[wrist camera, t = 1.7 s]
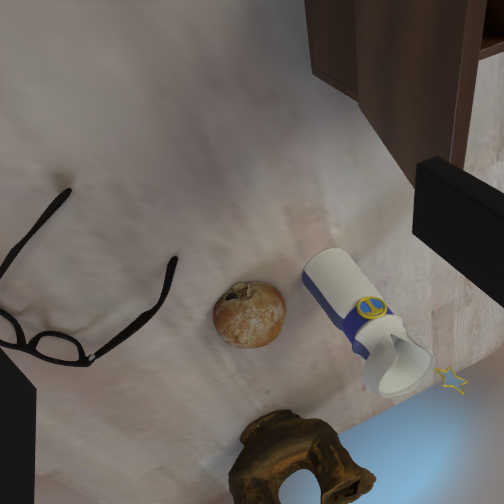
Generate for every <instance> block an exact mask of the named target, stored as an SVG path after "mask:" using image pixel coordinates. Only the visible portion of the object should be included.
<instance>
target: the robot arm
mask: <svg viewBox="0 0 504 504" xmlns="http://www.w3.org/2000/svg"><path fill="white" fill-rule="evenodd" d="M412 234H414V235H415V236H416V237H417V238H419V239H420V240H421V241H422V242H423V243H425V244H426V245H427V246H428V247H430V248H431V249H432V250H433V251H434V252H436V253H437V254H438V255H439V256H441V257H442V258H443V259H444V260H445V261H447V262H448V263H449V264H450V265H452V266H453V267H454V268H455V269H456V270H458V271H459V272H460V273H461V274H463V275H464V276H465V277H466V278H467V279H469V280H470V281H471V282H472V283H474V284H475V285H476V286H477V287H478V288H480V289H481V290H482V291H483V292H485V293H486V294H487V295H488V296H489V297H491V298H492V299H493V300H494V301H496V302H497V303H498V304H499V305H500V306H502V307H503V308H504V193H502V192H501V191H499V190H497V189H495V188H494V187H492V186H490V185H488V184H486V183H485V182H483V181H481V180H479V179H478V178H476V177H474V176H472V175H471V174H469V173H467V172H465V171H464V170H462V169H460V168H458V167H456V166H455V165H453V164H451V163H449V162H448V161H446V160H444V159H442V158H441V157H439V156H435V157H432V158H430V159H427V160H425V161H422V162H419V163H417V164H416V178H415V194H414V210H413V226H412ZM36 390H37V389H36V388H35V387H34V385H33V384H32V383H31V382H30V381H29V380H28V379H27V377H26V376H25V375H24V374H23V373H22V372H21V371H20V369H19V368H18V367H17V366H16V365H15V364H14V363H13V362H12V360H11V359H10V358H9V357H8V356H7V355H6V354H5V352H4V351H3V350H2V349H1V348H0V504H34V484H35V438H36Z"/></svg>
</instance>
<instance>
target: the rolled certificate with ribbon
mask: <svg viewBox="0 0 504 504" xmlns="http://www.w3.org/2000/svg"><path fill="white" fill-rule="evenodd" d="M302 280H303V283H304V285H305V286H306V288H307V289H308V290H309V291H310V293H311V294H312V295H313V296H314V298H315V299H316V300H317V302H318V303H319V304H320V306H321V307H322V308H323V310H324V311H325V312H326V314H327V315H328V317H329V318H330V320H331V321H332V322H333V324H334V325H335V326H336V327H337V328H338V329H339V330H340V331H341V332H343V333H345V335H346V336H347V338H348V339H349V341H350V342H351V343H352V350H353V352H354V353H355V354H356V355H357V356H359V357H362V358H364V359H365V360H366V363H365V366H364V370H363V383H364V385H365V387H366V388H367V389H369V390H370V391H372V392H374V393H376V394H378V395H379V396H381V397H383V398H396V397H399V396H402V395H404V394H407V393H408V392H410V391H412V390H414V389H415V388H417V387H418V386H419V385H420V384H422V383H423V382H424V381H425V380H426V379H427V377H428V376H429V375H430V373H431V372H432V370H433V368H434V365H435V357H434V355H433V354H432V352H431V351H430V349H429V348H428V347H427V345H426V344H425V342H424V341H423V340H422V338H421V337H420V336H419V335H418V334H417V333H416V332H414V331H413V330H412V332H413V334H414V336H415V337H416V339H417V340H418V342H419V344H420V345H421V346H422V347H423V348H422V347H420V346H419V345H418V344H417V343H416V342H415V341H414V340H412V339H411V338H410V337H409V336H408V334H407V333H406V331H405V329H404V322H403V320H402V319H401V318H400V317H399V316H397V315H394V314H393V313H392V312H391V310H390V309H389V308H388V307H387V306H386V304H385V302H384V300H383V298H382V296H381V294H380V293H379V291H378V290H377V289H376V288H375V286H374V285H373V284H372V283H371V282H370V280H369V279H368V278H367V277H366V276H365V274H364V273H363V272H362V271H361V269H360V268H359V267H358V266H357V264H356V263H355V262H354V260H353V259H352V258H351V256H350V255H349V254H348V252H347V251H345V250H344V249H341V248H330V249H326V250H324V251H322V252H320V253H318V254H317V255H315V256H314V257H313V258H312V259H311V260H310V261H309V262H308V263H307V265H306V267H305V268H304V271H303V275H302ZM435 370H436V371H437V372H438V373H439V374H440V375H441V376H442V377H443V378H444V380H443V385H442V386H443V387H454V388H455V389H456V390H457V391H459V392H460V393H461V394H463V395H464V392H463V389H462V385H463V384H466V383H467V382H468V381H466V380H464V379H462V378H459V377H457V376H456V375H455V373H454V371H453V370H452V368H451V367H450V366H449V367H448V368H447V369H446V370H445V371H444V370H441V369H437V368H435Z"/></svg>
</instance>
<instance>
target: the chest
mask: <svg viewBox="0 0 504 504" xmlns="http://www.w3.org/2000/svg"><path fill="white" fill-rule="evenodd" d="M304 2H305V11H306V21H307V30H308V39H309V49H310V58H311V67H312V74H313V75H315V76H316V77H318V78H319V79H321V80H323V81H324V82H326V83H328V84H329V85H331V86H332V87H334V88H336V89H337V90H339V91H340V92H342V93H344V94H345V95H347V96H349V97H350V98H352V99H353V100H355V101H357V102H358V80H357V54H356V29H355V3H354V0H304ZM501 52H504V0H487V4H486V11H485V18H484V26H483V33H482V40H481V47H480V54H479V60H482V59H485V58H487V57H490V56H493V55H496V54H498V53H501Z"/></svg>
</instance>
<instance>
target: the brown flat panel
mask: <svg viewBox="0 0 504 504" xmlns="http://www.w3.org/2000/svg"><path fill="white" fill-rule="evenodd" d="M354 3H355V29H356V54H357V80H358V105H359V108H360V109H361V111H362V112H363V114H364V115H365V117H366V118H367V120H368V121H369V123H370V124H371V126H372V127H373V129H374V130H375V132H376V133H377V134H378V136H379V137H380V139H381V140H382V142H383V143H384V145H385V146H386V148H387V149H388V151H389V152H390V154H391V155H392V157H393V158H394V160H395V161H396V162H397V164H398V165H399V167H400V168H401V170H402V171H403V173H404V174H405V176H406V177H407V179H408V180H409V182H410V183H411V185H412V186H413V188H414V189H415V178H416V164H417V163H419V162H422V161H425V160H427V159H430V158H432V157H435V156H439V157H441V158H442V159H444V160H446V161H448V162H449V163H451V164H453V165H455V166H456V167H458V168H460V169H462V170H463V169H464V162H465V155H466V147H467V140H468V133H469V126H470V119H471V112H472V104H473V97H474V90H475V83H476V76H477V69H478V61H479V54H480V47H481V40H482V33H483V26H484V18H485V11H486V4H487V0H354Z"/></svg>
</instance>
